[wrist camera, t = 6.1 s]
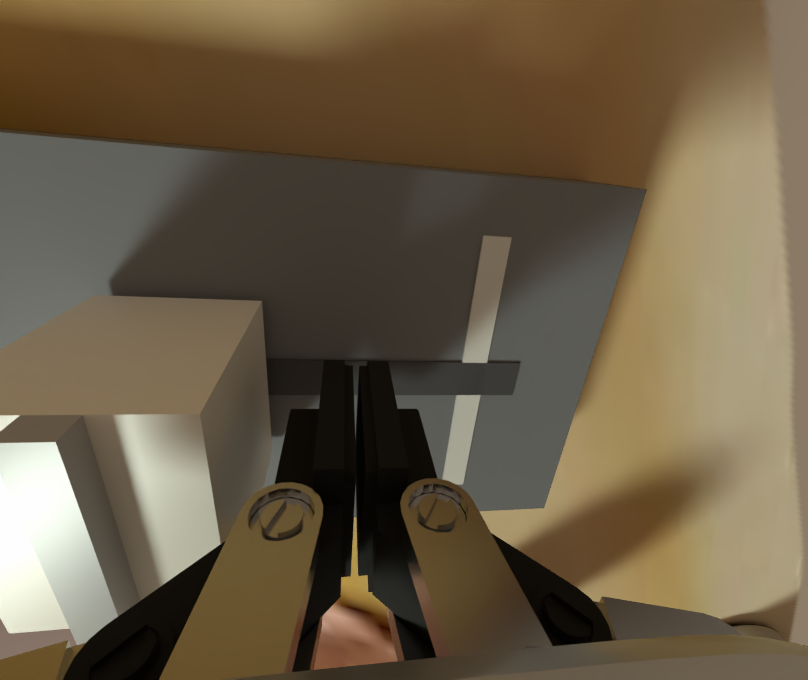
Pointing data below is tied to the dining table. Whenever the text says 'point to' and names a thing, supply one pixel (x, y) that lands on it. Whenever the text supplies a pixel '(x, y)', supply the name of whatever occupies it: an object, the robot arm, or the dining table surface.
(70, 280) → the fader console
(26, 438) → the fader knob
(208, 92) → the dining table surface
